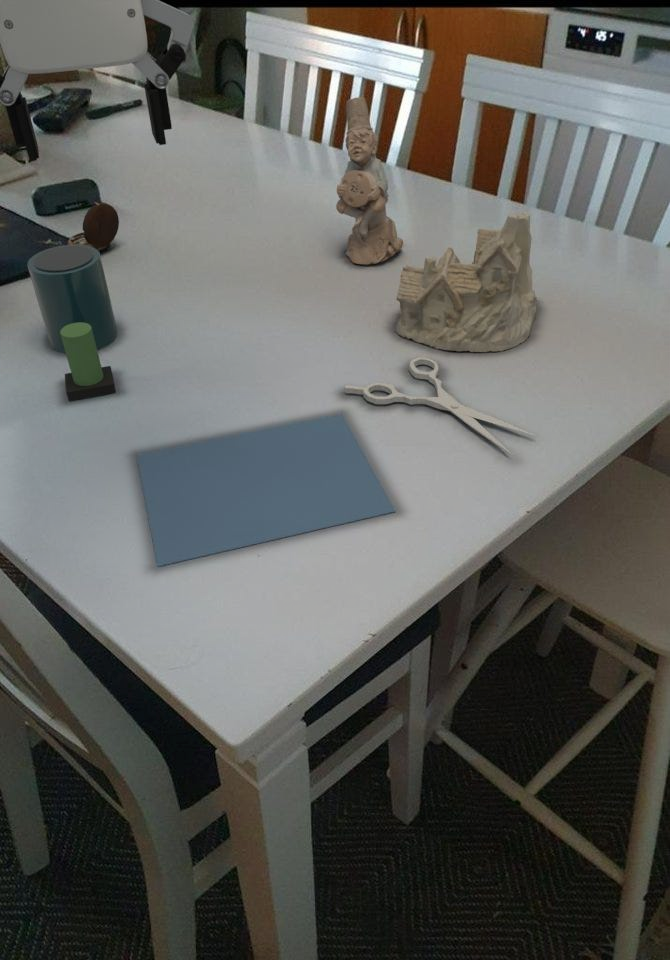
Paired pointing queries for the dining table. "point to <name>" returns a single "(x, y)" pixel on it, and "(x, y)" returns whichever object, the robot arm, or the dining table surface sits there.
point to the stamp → (84, 364)
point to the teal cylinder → (73, 292)
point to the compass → (97, 227)
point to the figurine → (365, 192)
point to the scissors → (431, 399)
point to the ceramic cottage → (473, 294)
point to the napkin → (257, 488)
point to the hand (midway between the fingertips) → (97, 147)
